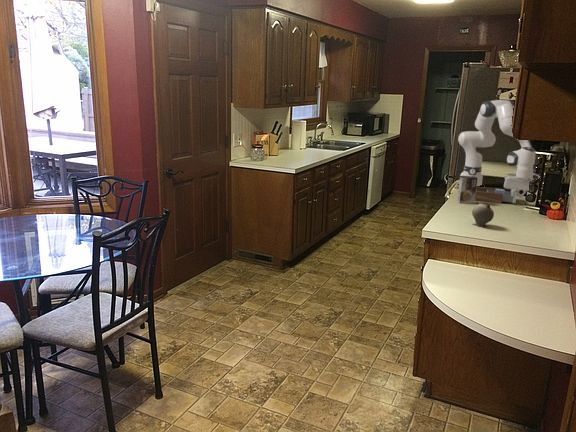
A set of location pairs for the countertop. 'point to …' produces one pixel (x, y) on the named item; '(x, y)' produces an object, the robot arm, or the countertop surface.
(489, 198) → the box
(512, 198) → the tray
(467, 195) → the coffee box
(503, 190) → the block
